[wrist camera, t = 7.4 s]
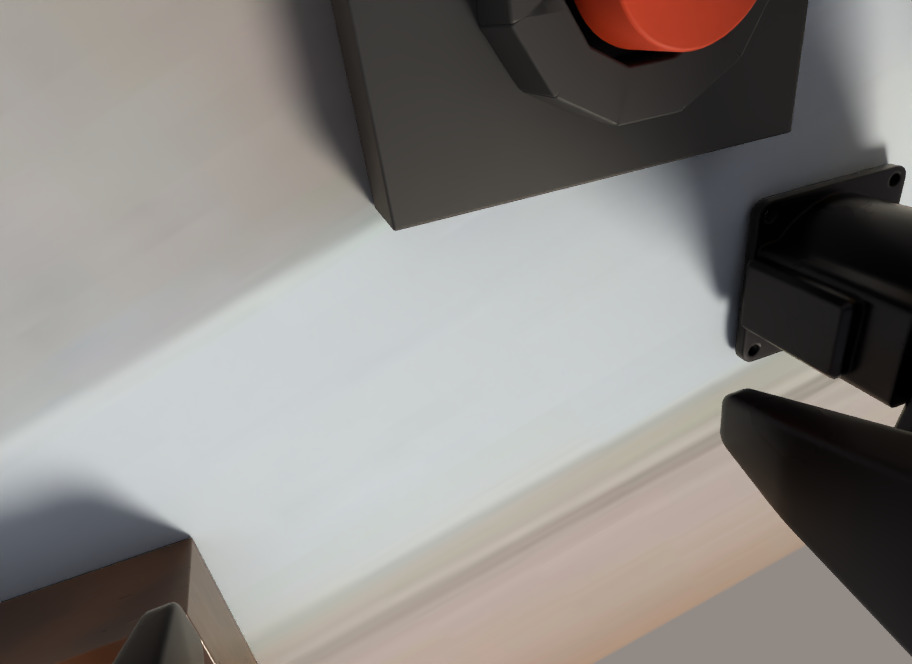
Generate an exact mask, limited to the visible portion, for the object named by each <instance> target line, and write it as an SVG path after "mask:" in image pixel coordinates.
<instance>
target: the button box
mask: <svg viewBox="0 0 912 664" xmlns="http://www.w3.org/2000/svg"><path fill="white" fill-rule="evenodd" d="M331 4H332V9H333V14H334V18H335V23H336V28H337V32H338V37H339V42H340V46H341V51H342V56H343V60H344V65H345V70H346V74H347V79H348V84H349V88H350V93H351V98H352V102H353V107H354V112H355V116H356V121H357V126H358V130H359V135H360V140H361V144H362V149H363V154H364V158H365V163H366V168H367V172H368V177H369V182H370V186H371V191H372V196H373V200H374V205H375V208H376V209H377V211H378V212H379V213H380V214H381V215H382V217H383V218H384V219H385V220H386V221H387V223H388V224H389V225H390V226H391V227H392V229H393V230H395V231H397V230H401V229H405V228H409V227H413V226H417V225H421V224H425V223H429V222H433V221H437V220H441V219H445V218H449V217H453V216H457V215H461V214H465V213H469V212H473V211H477V210H481V209H485V208H489V207H493V206H497V205H501V204H505V203H509V202H513V201H517V200H521V199H525V198H529V197H533V196H537V195H541V194H545V193H549V192H553V191H557V190H561V189H565V188H569V187H573V186H577V185H581V184H585V183H589V182H593V181H597V180H601V179H605V178H609V177H613V176H617V175H620V174H624V173H628V172H632V171H636V170H640V169H644V168H648V167H652V166H656V165H660V164H664V163H668V162H672V161H676V160H680V159H684V158H688V157H692V156H696V155H700V154H704V153H708V152H712V151H716V150H720V149H724V148H728V147H732V146H736V145H740V144H744V143H748V142H752V141H756V140H760V139H764V138H768V137H772V136H776V135H780V134H784V133H788V132H790V131H791V125H792V118H793V110H794V103H795V95H796V88H797V81H798V73H799V66H800V58H801V51H802V44H803V36H804V29H805V21H806V14H807V7H808V0H756V2H755V4H754V5H753V7H752V8H751V10H750V11H749V12H748V13H747V15H746V16H745V17H744V18H743V20H742V21H741V22H740V23H739V24H738V25H737V26H736V27H735V28H734V29H733V30H731V31H730V32H729V33H728V34H726V35H725V36H724V37H722V38H721V39H719V40H718V41H716V42H714V43H713V44H711V45H708V46H706V47H704V48H701V49H698V50H695V51H689V52H666V51H647V50H628V49H622V48H618V47H615V46H613V45H611V44H608V43H607V42H605V41H604V40H602V39H601V38H599V37H598V36H597V35H596V34H595V33H594V32H593V31H592V30H591V29H590V28H589V26H588V25H587V24H586V23H585V21H584V19H583V18H582V16H581V15H580V13H579V11H578V9H577V6H576V4H575V2H574V0H331Z"/></svg>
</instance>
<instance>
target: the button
mask: <svg viewBox="0 0 912 664" xmlns="http://www.w3.org/2000/svg"><path fill="white" fill-rule="evenodd" d="M574 2H575V4H576V6H577V9H578V11H579V13H580V15H581V16H582V18H583V19H584V21H585V23H586V24H587V25H588V26H589V28H590V29H591V30H592V31H593V32H594V33H595V34H596V35H597V36H598V37H599V38H601V39H602V40H604V41H605V42H607V43H608V44H611V45H613V46H615V47H618V48H622V49H628V50H647V51H666V52H689V51H695V50H698V49H701V48H704V47H706V46H708V45H711V44H713V43H714V42H716V41H718V40H719V39H721V38H722V37H724V36H725V35H726V34H728V33H729V32H730V31H731V30H733V29H734V28H735V27H736V26H737V25H738V24H739V23H740V22H741V21H742V20H743V18H744V17H745V16H746V15H747V13H748V12H749V11H750V10H751V8H752V7H753V5H754V4H755V2H756V0H574Z"/></svg>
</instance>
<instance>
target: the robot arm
mask: <svg viewBox="0 0 912 664" xmlns="http://www.w3.org/2000/svg"><path fill="white" fill-rule="evenodd" d="M905 175H906V171H905V168H904V167H902V166H899V165H894V164H886V165H882V166H879V167H875V168H872V169H868V170H864V171H861V172H857V173H853V174H850V175H846V176H843V177H839V178H835V179H832V180H828V181H825V182H821V183H817V184H814V185H810V186H807V187H803V188H799V189H796V190H792V191H788V192H785V193H781V194H778V195H774V196H770V197H767V198H763V199H761V200H759V201H758V202H757V203H756V204H755V205H754V207H753V209H752V211H751V214H750V221H749V231H748V240H747V249H746V258H745V267H744V276H743V285H742V294H741V303H740V313H739V322H738V331H737V340H736V349H735V350H736V354H737V356H739V357H740V358H742V359H743V360H745V361H747V362H751V361H754V360H757V359H760V358H763V357H766V356H769V355H772V354H774V353H777V352H780V351H785V352H786V353H788V354H790V355H791V356H793V357H795V358H797V359H798V360H800V361H802V362H804V363H805V364H807V365H809V366H810V367H812V368H814V369H816V370H817V371H819V372H821V373H822V374H824V375H826V376H828V377H829V378H832V379H835V378H838V377H839V378H841V379H842V380H844V381H846V382H848V383H849V384H851V385H853V386H855V387H856V388H858V389H860V390H862V391H863V392H865V393H867V394H869V395H870V396H872V397H874V398H876V399H877V400H879V401H881V402H883V403H884V404H886V405H888V406H890V407H891V408H893V407H897V406H900V405H902V404H905V406H904V408H903V410H902V412H901V414H900V417H899V419H898V421H897V423H896V425H895V427H890V426H886V425H883V424H879V423H875V422H872V421H868V420H864V419H860V418H857V417H853V416H849V415H846V414H842V413H838V412H835V411H831V410H827V409H823V408H820V407H816V406H812V405H809V404H805V403H801V402H798V401H794V400H790V399H786V398H783V397H779V396H775V395H772V394H768V393H764V392H761V391H757V390H753V389H742V390H739V391H736V392H734V393H731V394H728V395H727V396H725V398H724V399H723V402H722V414H721V428H720V434H721V439H722V441H723V443H724V445H725V447H726V448H727V450H728V451H729V452H730V453H731V455H732V456H733V457H734V459H735V460H736V461H737V462H738V464H739V465H740V466H741V468H742V469H743V470H744V471H745V473H746V474H747V475H748V477H749V478H750V479H751V480H752V482H753V483H754V484H755V486H756V487H757V488H758V489H759V491H760V492H761V493H762V495H763V496H764V497H765V498H766V500H767V501H768V502H769V504H770V505H771V506H772V507H773V509H774V510H775V511H776V512H777V513H778V515H779V516H780V517H781V518H782V519H783V520H784V522H785V523H786V524H787V525H788V526H789V527H790V528H791V529H792V530H793V532H794V533H795V534H796V535H797V536H798V537H799V538H800V539H801V540H802V541H803V542H804V543H805V544H806V545H807V546H808V547H809V548H810V549H811V551H813V553H814V554H815V555H816V556H817V557H818V558H819V559H820V560H821V561H822V562H823V563H824V564H825V565H826V566H827V568H829V570H830V571H831V572H832V573H833V574H834V575H835V576H836V577H837V578H838V579H839V580H840V581H841V582H842V583H843V584H844V585H845V587H846V588H847V589H848V590H849V591H850V592H851V593H852V594H853V595H854V596H855V597H856V598H857V599H858V600H859V601H860V602H861V604H862V605H863V606H864V607H865V608H866V609H867V610H868V611H869V612H870V613H871V614H872V615H873V616H874V617H875V618H876V619H877V620H878V621H879V622H880V624H881V625H882V626H883V627H884V628H885V629H886V630H887V631H888V632H889V633H890V634H891V635H892V636H893V637H894V638H895V639H896V641H897V642H898V643H899V644H900V645H901V646H902V647H903V648H904V649H905V650H906V651H907V652H908V653H909V654H910V655H911V656H912V207H908V206H904V205H901V204H899V202H900V198H901V193H902V189H903V185H904V181H905ZM767 211H768V212H767ZM766 212H767V215H766V216H765V214H766ZM112 664H204V653H203V646H202V642H201V639H200V637H199V635H198V633H197V631H196V630H195V628H194V627H193V625H192V624H191V622H190V620H189V619H188V617H187V616H186V614H185V612H184V611H183V609H182V608H181V606H180V605H179V604H177V603H175V602H172V603H168V604H165V605H163V606H160V607H157V608H155V609H152V610H149V611H147V612H146V613H145V614H144V615H143V616H142V617H141V618H140V620H139V621H138V623H137V625H136V626H135V628H134V629H133V631H132V633H131V634H130V636H129V637H128V639H127V641H126V642H125V644H124V645H123V647H122V649H121V650H120V652H119V653H118V655H117V657H116V658H115V660H114V662H113V663H112Z"/></svg>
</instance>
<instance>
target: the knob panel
mask: <svg viewBox="0 0 912 664" xmlns="http://www.w3.org/2000/svg"><path fill="white" fill-rule="evenodd" d="M172 602H175V603H177V604H179V605H180V606H181V608H182V609H183V611H184V612H185V614H186V616H187V617H188V619H189V620H190V622H191V624H192V625H193V627H194V628H195V630H196V631H197V633H198V635H199V637H200V639H201V642H202V646H203V653H204V664H257V662H256V660H255V658H254V656H253V654H252V652H251V650H250V648H249V646H248V644H247V643H246V641H245V639H244V637H243V635H242V633H241V631H240V629H239V627H238V625H237V623H236V621H235V619H234V618H233V616H232V614H231V612H230V610H229V608H228V606H227V604H226V602H225V600H224V598H223V596H222V594H221V592H220V591H219V589H218V587H217V585H216V583H215V581H214V579H213V577H212V575H211V573H210V571H209V569H208V567H207V566H206V564H205V562H204V560H203V558H202V556H201V554H200V552H199V550H198V548H197V546H196V544H195V542H194V541H193V539H192V538H189V539H186V540H183V541H180V542H177V543H174V544H171V545H168V546H165V547H162V548H159V549H156V550H154V551H151V552H148V553H145V554H142V555H139V556H136V557H133V558H130V559H127V560H124V561H121V562H118V563H115V564H113V565H110V566H107V567H104V568H101V569H98V570H95V571H92V572H89V573H86V574H83V575H80V576H77V577H74V578H72V579H69V580H66V581H63V582H60V583H57V584H54V585H51V586H48V587H45V588H42V589H39V590H36V591H33V592H31V593H28V594H25V595H22V596H19V597H16V598H13V599H10V600H7V601H4V602H1V603H0V664H112V663H113V662H114V660H115V658H116V657H117V655H118V653H119V652H120V650H121V649H122V647H123V645H124V644H125V642H126V641H127V639H128V637H129V636H130V634H131V633H132V631H133V629H134V628H135V626H136V625H137V623H138V621H139V620H140V618H141V617H142V616H143V615H144V614H145V613H146V612H147V611H149V610H152V609H155V608H157V607H160V606H163V605H165V604H168V603H172Z"/></svg>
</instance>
